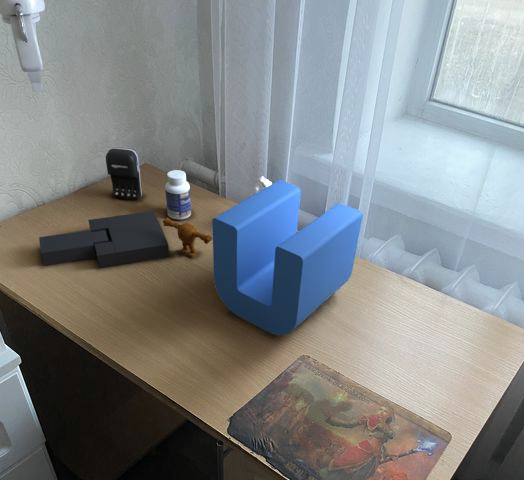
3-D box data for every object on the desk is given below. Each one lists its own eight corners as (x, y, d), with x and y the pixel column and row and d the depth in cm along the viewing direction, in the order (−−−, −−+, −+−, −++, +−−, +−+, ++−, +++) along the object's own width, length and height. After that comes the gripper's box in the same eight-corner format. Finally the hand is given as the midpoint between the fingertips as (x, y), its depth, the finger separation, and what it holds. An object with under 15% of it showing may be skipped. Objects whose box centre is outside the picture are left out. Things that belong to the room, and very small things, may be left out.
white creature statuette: (230, 224, 120) (229, 173, 112) (262, 214, 123) (264, 165, 115) (252, 244, 114) (254, 192, 106) (285, 234, 118) (289, 183, 110)
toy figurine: (160, 247, 112) (157, 218, 107) (172, 240, 114) (169, 211, 110) (205, 268, 107) (204, 238, 103) (216, 259, 110) (216, 230, 105)
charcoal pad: (44, 265, 106) (40, 253, 104) (42, 249, 110) (38, 237, 108) (111, 255, 109) (109, 242, 107) (107, 240, 113) (104, 227, 111)
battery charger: (110, 200, 126) (101, 152, 118) (115, 192, 128) (107, 145, 120) (139, 203, 125) (132, 155, 117) (143, 195, 128) (138, 148, 120)
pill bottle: (184, 222, 120) (181, 181, 113) (163, 217, 121) (159, 176, 114) (195, 211, 123) (193, 171, 117) (174, 206, 125) (171, 166, 118)
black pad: (99, 268, 106) (97, 255, 104) (90, 232, 115) (88, 219, 113) (169, 256, 110) (168, 244, 108) (155, 222, 119) (154, 210, 117)
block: (214, 303, 99) (212, 216, 87) (272, 261, 110) (277, 178, 98) (293, 345, 92) (303, 257, 80) (347, 296, 103) (363, 211, 90)
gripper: (39, 11, 87) (58, 100, 97) (32, -14, 101) (49, 65, 110) (-3, 13, 85) (21, 103, 95) (-4, -14, 99) (17, 67, 109)
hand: (36, 82), depth 103 cm, fingers open, 8 cm apart
